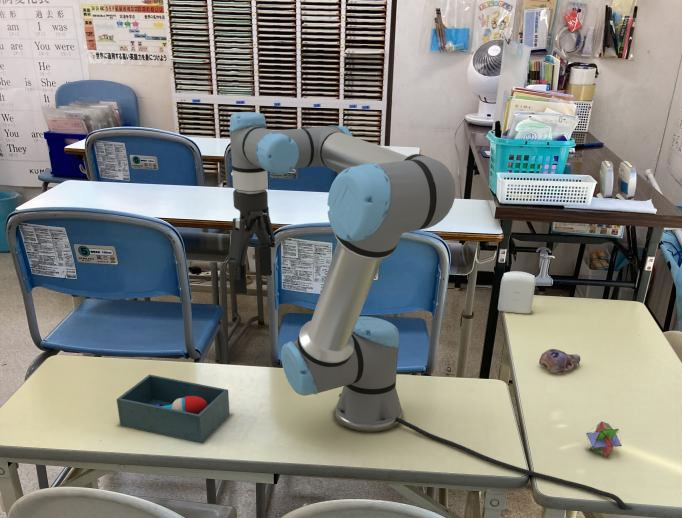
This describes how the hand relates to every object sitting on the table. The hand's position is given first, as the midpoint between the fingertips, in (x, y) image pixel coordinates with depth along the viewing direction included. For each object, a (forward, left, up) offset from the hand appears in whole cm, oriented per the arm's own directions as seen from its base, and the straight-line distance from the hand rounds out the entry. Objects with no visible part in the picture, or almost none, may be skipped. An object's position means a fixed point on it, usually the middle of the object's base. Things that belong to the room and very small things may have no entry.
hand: (253, 283), depth 179 cm
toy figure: (+8, +26, -24) cm, 36 cm away
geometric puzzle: (-84, +4, -25) cm, 88 cm away
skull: (-71, -36, -25) cm, 83 cm away
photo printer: (-53, -73, -25) cm, 94 cm away
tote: (+8, +26, -25) cm, 37 cm away
